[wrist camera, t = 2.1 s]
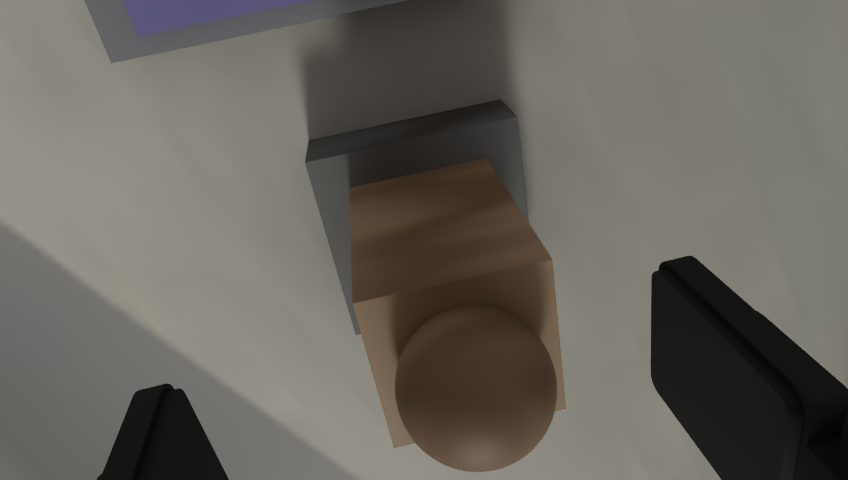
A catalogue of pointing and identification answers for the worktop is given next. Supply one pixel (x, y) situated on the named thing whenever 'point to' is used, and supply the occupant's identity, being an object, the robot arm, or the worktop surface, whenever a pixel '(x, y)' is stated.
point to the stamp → (445, 281)
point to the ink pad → (202, 21)
